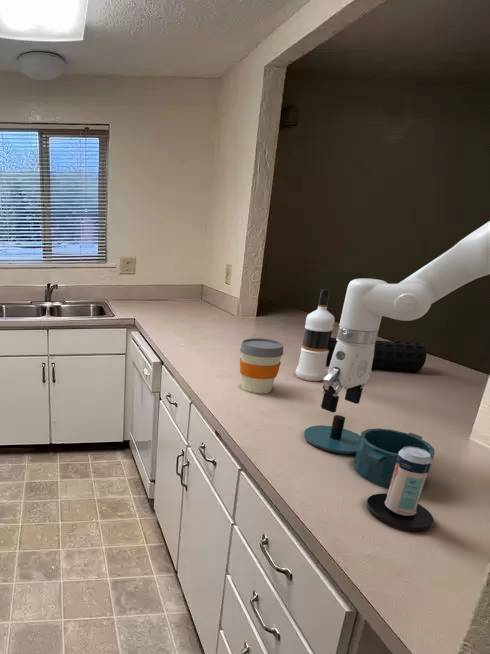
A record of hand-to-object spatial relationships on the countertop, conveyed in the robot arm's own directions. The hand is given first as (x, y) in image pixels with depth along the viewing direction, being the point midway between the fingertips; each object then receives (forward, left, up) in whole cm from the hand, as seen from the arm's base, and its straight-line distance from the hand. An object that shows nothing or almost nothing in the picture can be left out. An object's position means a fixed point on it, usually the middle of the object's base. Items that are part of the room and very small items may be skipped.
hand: (340, 405), depth 102 cm
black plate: (-22, +17, -10) cm, 30 cm away
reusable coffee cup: (+34, -14, -10) cm, 38 cm away
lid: (0, 0, -9) cm, 9 cm away
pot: (-14, +4, -10) cm, 18 cm away
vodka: (+31, -38, -10) cm, 50 cm away
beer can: (-22, +17, -9) cm, 29 cm away
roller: (+29, -64, -10) cm, 71 cm away
